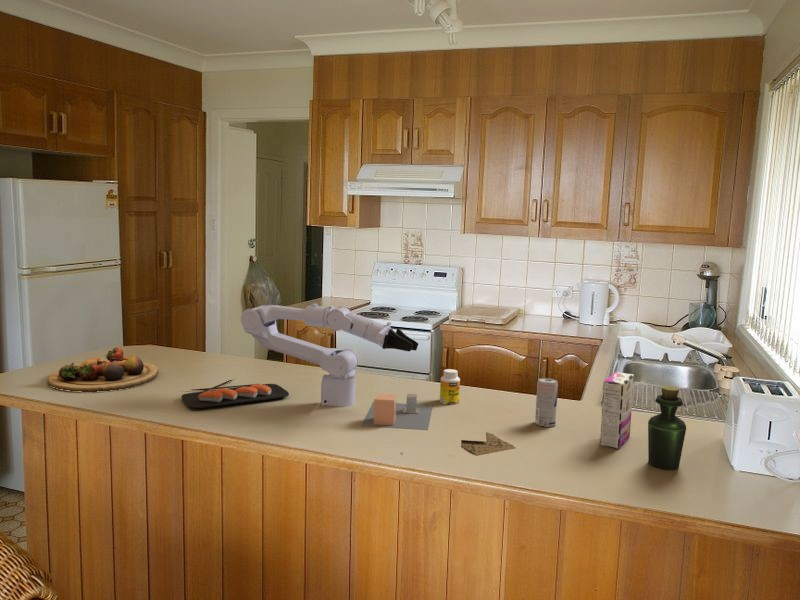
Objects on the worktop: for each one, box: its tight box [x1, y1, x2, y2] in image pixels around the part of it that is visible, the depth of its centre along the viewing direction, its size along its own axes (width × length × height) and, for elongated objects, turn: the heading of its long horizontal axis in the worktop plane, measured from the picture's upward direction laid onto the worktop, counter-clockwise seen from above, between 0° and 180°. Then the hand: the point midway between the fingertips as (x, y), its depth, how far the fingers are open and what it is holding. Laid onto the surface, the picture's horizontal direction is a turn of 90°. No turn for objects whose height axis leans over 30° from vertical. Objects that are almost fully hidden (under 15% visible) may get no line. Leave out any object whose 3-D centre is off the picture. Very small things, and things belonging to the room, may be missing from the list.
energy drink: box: [534, 377, 559, 428], centre depth 176 cm, size 5×5×12 cm
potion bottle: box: [647, 385, 687, 471], centre depth 150 cm, size 8×8×18 cm
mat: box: [360, 401, 434, 431], centre depth 178 cm, size 17×21×1 cm
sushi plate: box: [180, 379, 290, 409], centre depth 199 cm, size 29×30×4 cm
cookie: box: [460, 432, 516, 457], centre depth 161 cm, size 12×12×1 cm
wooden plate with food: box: [47, 346, 159, 393], centre depth 210 cm, size 32×32×8 cm
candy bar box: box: [599, 371, 635, 450], centre depth 165 cm, size 11×5×16 cm, turn 148°
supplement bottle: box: [439, 368, 461, 406], centre depth 191 cm, size 6×6×10 cm
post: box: [403, 393, 420, 414], centre depth 182 cm, size 4×4×4 cm
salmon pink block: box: [373, 393, 398, 425], centre depth 172 cm, size 5×5×7 cm
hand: (414, 347), depth 180 cm, fingers open, 7 cm apart
